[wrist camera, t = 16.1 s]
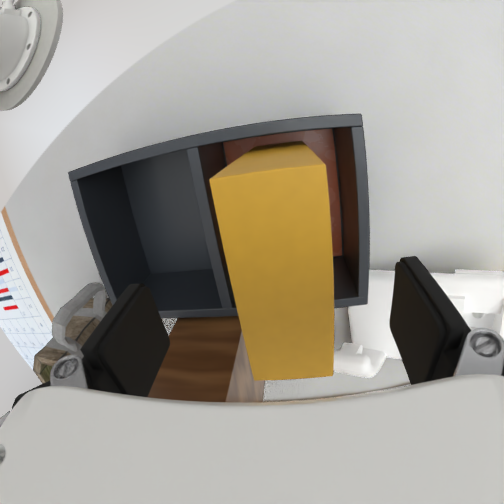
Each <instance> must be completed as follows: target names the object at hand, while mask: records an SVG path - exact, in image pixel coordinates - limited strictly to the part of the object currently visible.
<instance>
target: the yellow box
mask: <svg viewBox="0 0 504 504" xmlns="http://www.w3.org/2000/svg"><path fill="white" fill-rule="evenodd" d="M209 181H210V186H211V191H212V196H213V201H214V206H215V211H216V216H217V221H218V226H219V230H220V235H221V240H222V244H223V249H224V254H225V258H226V263H227V267H228V272H229V277H230V281H231V285H232V290H233V294H234V299H235V303H236V307H237V312H238V316H239V320H240V325H241V329H242V333H243V337H244V342H245V346H246V350H247V354H248V358H249V362H250V366H251V370H252V374H253V378H254V380H255V381H259V380H286V379H302V378H315V377H326V376H333V368H334V273H333V249H332V231H331V217H330V204H329V192H328V181H327V172H326V165H325V164H324V163H323V162H322V161H321V159H320V158H319V157H318V156H317V155H316V154H315V153H314V152H313V151H312V150H311V149H310V148H309V147H308V146H307V145H306V144H305V143H304V142H303V141H294V142H285V143H277V144H269V145H262V146H255V147H254V148H252V149H251V150H249V151H248V152H246V153H245V154H244V155H242V156H241V157H239V158H238V159H237V160H235V161H234V162H232V163H231V164H230V165H228V166H227V167H225V168H224V169H223V170H221V171H220V172H219V173H217V174H216V175H214V176H213V177H212V178H210V180H209Z"/></svg>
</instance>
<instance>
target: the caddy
mask: <svg viewBox="0 0 504 504" xmlns="http://www.w3.org/2000/svg"><path fill="white" fill-rule="evenodd" d="M362 126H363V122H362V115H361V114H342V115H326V116H314V117H303V118H293V119H285V120H277V121H269V122H262V123H255V124H249V125H243V126H237V127H231V128H225V129H220V130H215V131H210V132H205V133H200V134H196V135H191V136H187V137H182V138H178V139H174V140H170V141H166V142H162V143H158V144H154V145H151V146H147V147H143V148H140V149H136V150H133V151H130V152H126V153H123V154H120V155H117V156H113V157H110V158H107V159H104V160H101V161H98V162H95V163H92V164H90V165H87V166H84V167H81V168H78V169H76V170H73V171H70V172H68V174H69V179H70V181H71V186H72V190H73V194H74V198H75V201H76V205H77V208H78V212H79V215H80V218H81V222H82V225H83V228H84V231H85V234H86V237H87V240H88V243H89V246H90V249H91V252H92V255H93V258H94V260H95V263H96V266H97V268H98V271H99V274H100V276H101V279H102V281H103V284H104V286H105V289H106V291H107V294H108V296H109V298H110V301H111V303H112V305H114V303H115V302H116V301H117V299H118V298H119V297H120V296H121V294H122V293H123V292H124V291H125V289H126V288H127V287H128V286H129V285H130V284H140V283H143V284H145V286H146V287H149V289H150V291H151V294H152V296H153V299H154V301H155V304H156V307H157V309H158V312H159V314H160V317H161V318H194V317H222V316H238V312H237V307H236V303H235V299H234V294H233V290H232V285H231V281H230V277H229V272H228V267H227V263H226V258H225V254H224V249H223V244H222V240H221V235H220V230H219V226H218V221H217V216H216V211H215V206H214V201H213V196H212V191H211V186H210V181H209V180H210V178H212V177H213V176H214V175H216V174H217V173H219V172H220V171H221V170H223V169H224V168H225V167H227V166H228V165H230V164H231V163H232V162H234V161H235V160H237V159H238V158H239V157H241V156H242V155H244V154H245V153H246V152H248V151H249V150H251V149H252V148H254V147H255V146H262V145H269V144H277V143H285V142H294V141H303V142H304V143H305V144H306V145H307V146H308V147H309V148H310V149H311V150H312V151H313V152H314V153H315V154H316V155H317V156H318V157H319V158H320V159H321V161H322V162H323V163H324V164H325V165H326V172H327V181H328V192H329V204H330V217H331V231H332V249H333V273H334V308H341V307H350V306H358V305H367V304H368V288H369V256H370V226H369V194H368V176H367V162H366V150H365V140H364V131H363V127H362Z"/></svg>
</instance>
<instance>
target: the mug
mask: <svg viewBox="0 0 504 504" xmlns="http://www.w3.org/2000/svg"><path fill="white" fill-rule="evenodd" d="M93 296H94V298H92V297H93ZM112 306H113V305H112V303H111V301H110V299H106V291H105V289H104V286H103V285H102V284H100V283H96V282H95V283H90V284H88V285H87V286H85V287H84V288H83V289H82V290H81V291H80V292H79V293H78V294H77V295H76V296H75V297H74V298H72V299H71V300H70V301H69V302H67V303H66V304H65V305H64V306H63V307H61V308H60V310H59V311H58V313H57V314H56V316H55V318H54V319H53V323H52V335H53V338H52V339H51V340H50V341H49V342H48V344H47V345H46V346H45V347H44V348H43V349H42V350H40V351H39V352H38V353H37V354H36V355H35V357H34V367H33V370H34V372H35V373H36V375H37V376H38V378H39V379H40V380H41V382H42V383H46V382H48V381H50V372H51V369H52V367H53V365H54V364H55V363H56V362H57V361H58V360H59V359H61V358H63V357H64V356H67V355H73V354H74V355H78V356H79V357H81V359H82V358H83V356H84V355H83V354H82V352H81V350H80V349H81V347H82V346H83V345H84V343H85V342H86V340H87V339H88V338H89V336H90V335H91V334H92V332H93V331H94V330H95V328H96V327H97V326H98V324H99V323H100V322H101V320H102V319H103V318H104V316H105V315H106V314H107V312H108V311H109V310H110V308H111V307H112Z"/></svg>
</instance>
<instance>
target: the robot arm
mask: <svg viewBox="0 0 504 504" xmlns="http://www.w3.org/2000/svg"><path fill="white" fill-rule="evenodd" d="M13 2H14V0H3V2H2V5H3V6H2V7H0V91H6V90H8V89H10V88H11V87H13V86H14V85H15V84H16V83H17V82H18V81H19V80H20V78H21V77H22V76H23V74H24V73H25V71H26V70H27V68H28V66H29V64H30V62H31V60H32V58H33V56H34V53H35V51H36V48H37V45H38V42H39V37H40V33H41V17H40V13H39V12H38V10H37V9H35V8H33V7H28V6H27V7H22V8H19V9H18V10H15V5H13ZM389 325H390V330H391V333H392V335H393V338H394V340H395V343H396V345H397V348H398V350H399V353H400V356H401V358H402V361H403V363H404V366H405V369H406V372H407V374H408V377H409V380H410V383H411V385H409V386H404V387H399V388H393V389H387V390H381V391H375V392H369V393H363V394H356V395H349V396H341V397H332V398H323V399H312V400H299V401H282V402H250V403H231V402H199V401H182V400H169V399H158V398H149V397H148V395H149V392H150V390H151V388H152V385H153V383H154V381H155V378H156V376H157V374H158V371H159V369H160V367H161V365H162V362H163V360H164V358H165V355H166V353H167V351H168V349H169V346H170V339H169V336H168V334H167V331H166V329H165V327H164V324H163V322H162V319H161V317H160V314H159V312H158V309H157V307H156V304H155V301H154V299H153V296H152V294H151V291H150V289H149V287H146V286H145V284H143V283H140V284H130V285H129V286H128V287H127V288H126V289H125V291H124V292H123V293H122V294H121V296H120V297H119V298H118V299H117V301H116V302H115V303H114V305H113V306H112V307H111V308H110V310H109V311H108V312H107V314H106V315H105V316H104V318H103V319H102V320H101V322H100V323H99V324H98V326H97V327H96V328H95V330H94V331H93V332H92V334H91V335H90V336H89V338H88V339H87V340H86V342H85V343H84V345H83V346H82V347H81V349H80V350H81V352H82V354H83V355H84V356H83V358H82V359H81V357H79V356H78V355H74V354H73V355H67V356H64V357H63V358H61V359H59V360H58V361H57V362H56V363H55V364H54V365H53V367H52V369H51V372H50V381H48V382H46V383H43V384H42V385H39V386H37V387H36V388H33V389H31V390H29V391H27V392H25V393H23V394H20V395H19V396H18V397H17V398H16V399H15V402H14V404H13V406H12V410H11V412H10V411H9V412H7V413H6V414H5V415H4V416H2V417H1V418H0V504H504V340H503V338H502V337H501V336H500V335H499V334H498V333H497V332H495V331H493V330H491V329H488V328H476V329H474V330H472V331H471V329H470V328H469V326H468V325H467V323H466V322H465V320H464V319H463V317H462V316H461V314H460V313H459V312H458V310H457V309H456V307H455V306H454V305H453V303H452V302H451V300H450V299H449V298H448V296H447V295H446V294H445V292H444V291H443V290H442V288H441V287H440V286H439V284H438V283H437V282H436V280H435V279H434V278H433V277H432V275H431V274H430V273H429V271H428V270H427V269H426V268H425V266H424V265H423V264H422V263H421V262H420V260H419V259H418V258H417V257H416V256H412V257H404V258H401V259H400V262H397V263H396V266H395V277H394V288H393V297H392V305H391V313H390V321H389Z"/></svg>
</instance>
